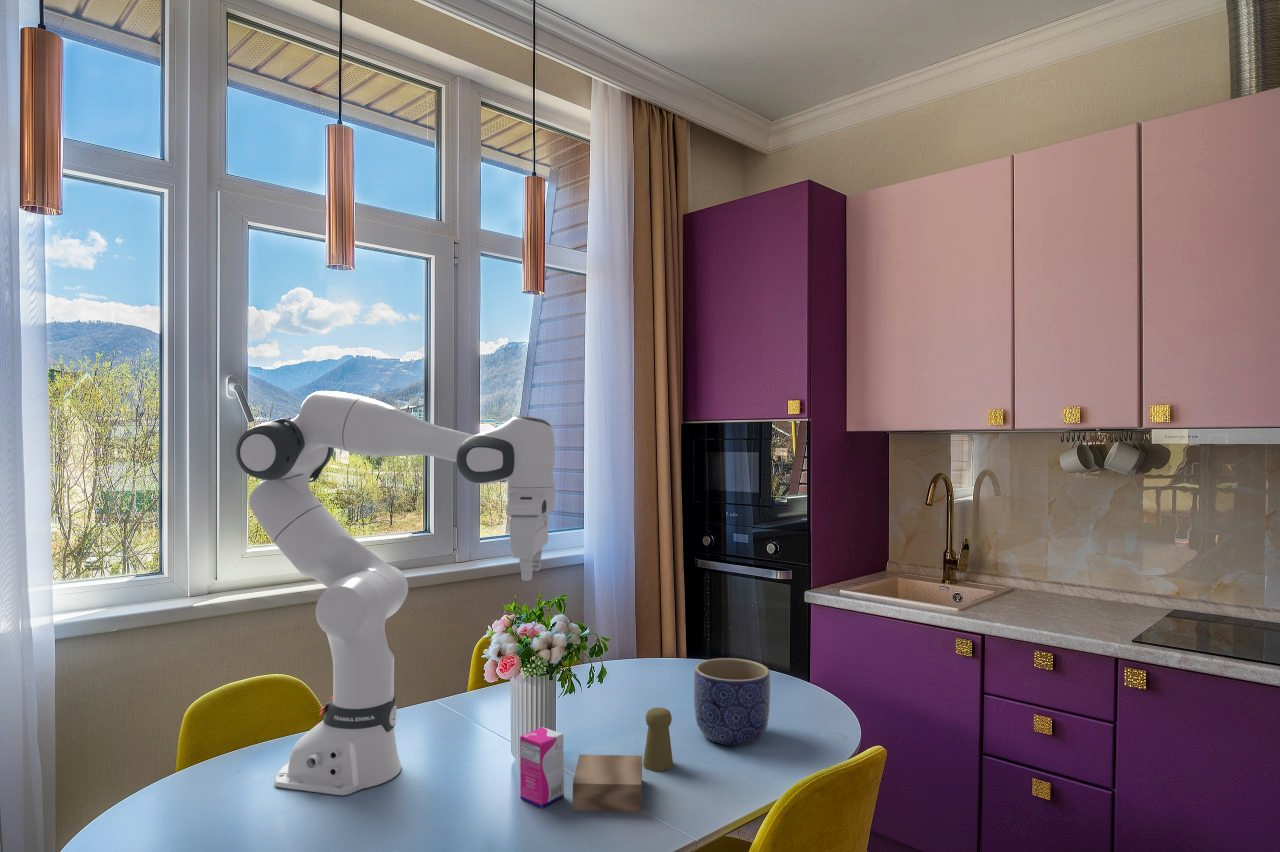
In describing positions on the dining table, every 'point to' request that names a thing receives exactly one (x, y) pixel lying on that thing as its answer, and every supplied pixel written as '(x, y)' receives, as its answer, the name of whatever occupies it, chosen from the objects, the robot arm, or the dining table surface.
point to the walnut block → (608, 783)
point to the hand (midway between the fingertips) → (531, 575)
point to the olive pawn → (658, 740)
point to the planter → (732, 700)
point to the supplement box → (541, 767)
